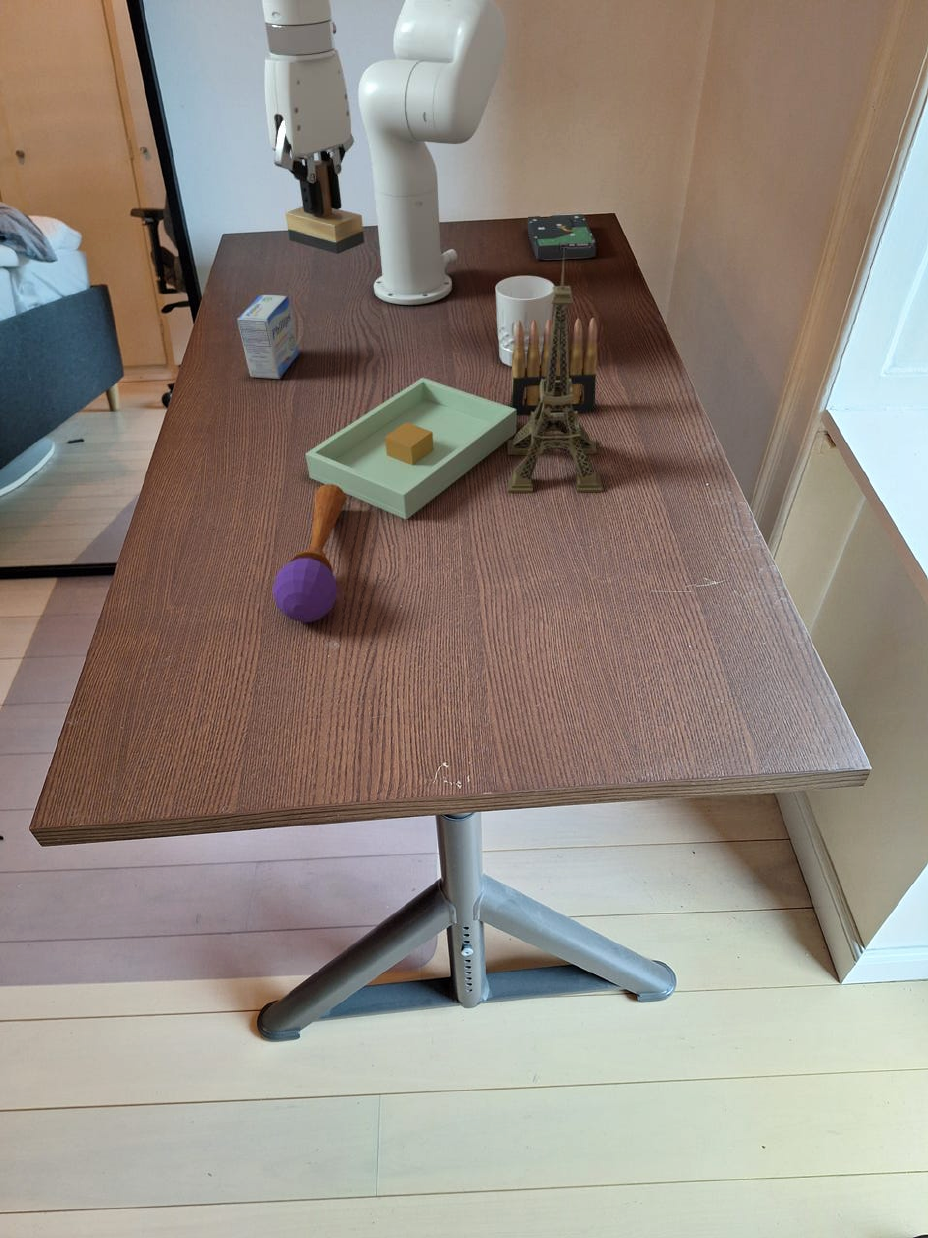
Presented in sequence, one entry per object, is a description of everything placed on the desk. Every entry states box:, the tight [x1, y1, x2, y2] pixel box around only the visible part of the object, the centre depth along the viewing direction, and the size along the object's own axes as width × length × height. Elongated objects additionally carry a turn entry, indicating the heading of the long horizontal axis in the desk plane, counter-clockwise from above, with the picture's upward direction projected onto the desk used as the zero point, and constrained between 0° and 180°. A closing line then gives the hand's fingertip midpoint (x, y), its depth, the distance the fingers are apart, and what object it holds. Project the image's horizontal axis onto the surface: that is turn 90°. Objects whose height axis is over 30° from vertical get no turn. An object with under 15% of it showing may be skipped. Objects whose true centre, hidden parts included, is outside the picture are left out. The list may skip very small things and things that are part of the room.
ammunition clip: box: [509, 317, 598, 416], centre depth 105 cm, size 11×2×12 cm, turn 92°
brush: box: [284, 159, 365, 255], centre depth 109 cm, size 5×9×10 cm, turn 52°
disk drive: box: [526, 213, 597, 261], centre depth 150 cm, size 10×3×15 cm
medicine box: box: [237, 294, 300, 380], centre depth 117 cm, size 8×4×9 cm, turn 168°
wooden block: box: [385, 422, 434, 465], centre depth 100 cm, size 4×4×2 cm
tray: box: [305, 377, 517, 520], centre depth 101 cm, size 22×15×3 cm
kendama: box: [272, 484, 347, 623], centre depth 86 cm, size 6×6×20 cm
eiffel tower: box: [507, 247, 603, 494], centre depth 91 cm, size 11×11×25 cm
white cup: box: [494, 275, 555, 369], centre depth 116 cm, size 8×8×10 cm
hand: (322, 208), depth 110 cm, fingers closed on brush, 2 cm apart
